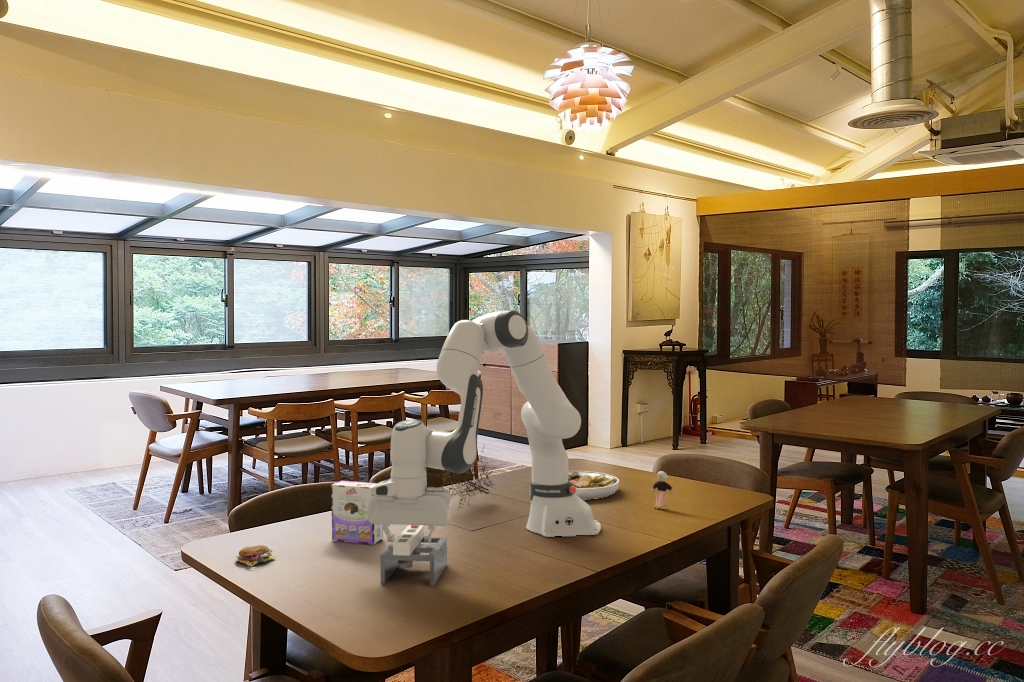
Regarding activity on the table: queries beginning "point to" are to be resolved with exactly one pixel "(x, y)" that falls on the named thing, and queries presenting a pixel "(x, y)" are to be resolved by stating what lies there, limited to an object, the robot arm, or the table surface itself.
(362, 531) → the candy box
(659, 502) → the grandmother figurine
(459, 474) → the dried plant
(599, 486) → the bowl
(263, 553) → the hamburger
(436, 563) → the grey stepped cutout plate
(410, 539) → the power strip
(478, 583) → the table surface
